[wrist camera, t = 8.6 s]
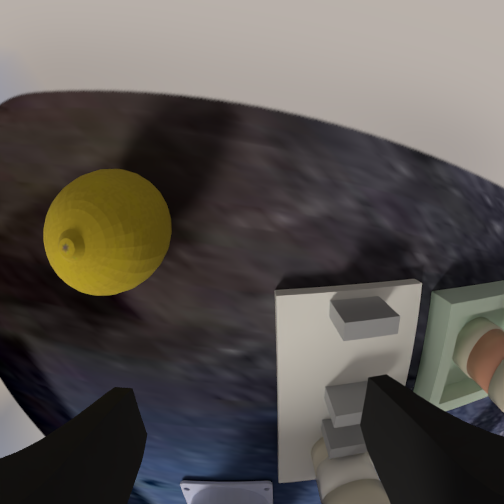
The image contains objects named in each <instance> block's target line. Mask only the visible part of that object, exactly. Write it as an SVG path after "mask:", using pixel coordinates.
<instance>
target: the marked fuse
mask: <svg viewBox="0 0 504 504" xmlns="http://www.w3.org/2000/svg"><path fill="white" fill-rule="evenodd" d="M452 360H453V362H454V363H455V364H456V365H457V366H458V367H459V368H460V369H461V370H462V371H463V372H464V373H465V374H466V375H467V376H468V377H469V378H471V379H473V380H474V381H475V382H476V383H477V384H478V385H479V386H480V387H481V388H482V389H483V390H484V391H485V392H486V393H487V394H488V396H489V398H490V399H491V400H492V401H493V402H494V403H495V404H496V405H497V406H498V407H499V408H500V409H501V411H502V412H503V413H504V330H503V329H502V328H500V327H499V326H497V325H496V324H494V323H493V322H491V321H490V320H488V319H487V318H485V317H477V318H474V319H472V320H471V321H469V322H468V323H467V324H466V325H465V326H464V327H463V328H462V329H461V331H460V332H459V333H458V335H457V339H456V343H455V348H454V352H453V356H452Z"/></svg>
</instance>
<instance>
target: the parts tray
mask: <svg viewBox="0 0 504 504" xmlns="http://www.w3.org/2000/svg"><path fill="white" fill-rule="evenodd" d="M477 317H485V318H487V319H488V320H490V321H491V322H493V323H494V324H496V325H497V326H499V327H500V328H502V329H503V330H504V280H502V281H496V282H490V283H484V284H478V285H471V286H465V287H458V288H451V289H444V290H436V291H432V293H431V301H430V308H429V315H428V321H427V328H426V334H425V339H424V345H423V350H422V355H421V360H420V364H419V369H418V373H417V378H416V382H415V386H414V390H413V392H415V393H416V394H418V395H419V396H421V397H422V398H424V399H425V400H427V401H429V402H430V403H432V404H433V405H435V406H437V407H438V408H440V409H442V410H444V411H448V410H451V409H454V408H457V407H460V406H463V405H465V404H468V403H471V402H474V401H476V400H479V399H481V398H484V397H486V396H488V394H487V393H486V392H485V391H484V390H483V389H482V388H481V387H480V386H479V385H478V384H477V383H476V382H475V381H474V380H473V379H471V378H469V377H468V376H467V375H466V374H465V373H464V372H463V371H462V370H461V369H460V368H459V367H458V366H457V365H456V364H455V363H454V362H453V360H452V356H453V352H454V348H455V343H456V339H457V335H458V333H459V332H460V331H461V329H462V328H463V327H464V326H465V325H466V324H467V323H468V322H469V321H471V320H472V319H474V318H477Z"/></svg>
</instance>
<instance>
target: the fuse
mask: <svg viewBox="0 0 504 504" xmlns="http://www.w3.org/2000/svg"><path fill="white" fill-rule="evenodd" d="M311 457H312V462H313V466H314V471H315V475H316V477H317V478H318V482H319V487H320V491H321V496H322V504H391V503H390V501H389V498H388V496H387V494H386V492H385V489H384V487H383V485H382V483H381V481H380V480H379V477H378V475H377V472H376V470H375V467H374V465H373V463H372V460H371V458H370V456H369V453H368V452H364V453H359V454H354V455H349V456H343V457H338V458H331V459H329V456H328V452H327V449H326V445H325V441H324V438H323V437H322V438H320V439H319V440H318V441H317V442H316V443H315V444H314V445H313V447H312V449H311Z"/></svg>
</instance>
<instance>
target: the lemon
mask: <svg viewBox="0 0 504 504" xmlns="http://www.w3.org/2000/svg"><path fill="white" fill-rule="evenodd" d="M170 238H171V217H170V214H169V210H168V206H167V204H166V202H165V200H164V198H163V197H162V195H161V193H160V192H159V191H158V190H157V189H156V187H155V186H154V185H153V184H152V183H151V182H149V181H148V180H146V179H145V178H143V177H141V176H140V175H138V174H136V173H133V172H129V171H126V170H122V169H101V170H97V171H94V172H91V173H88V174H85V175H82V176H80V177H79V178H77V179H75V180H74V181H73V182H71V183H70V184H68V185H67V186H66V187H64V188H63V189H62V191H61V192H60V193H59V194H58V195H57V197H56V198H55V199H54V201H53V202H52V204H51V206H50V209H49V211H48V213H47V216H46V220H45V225H44V245H45V250H46V254H47V257H48V259H49V262H50V264H51V266H52V268H53V269H54V270H55V272H56V273H57V275H58V276H59V277H60V278H61V279H62V280H63V281H64V282H65V283H66V284H68V285H69V286H71V287H73V288H75V289H76V290H78V291H80V292H83V293H87V294H91V295H114V294H117V293H121V292H124V291H127V290H130V289H132V288H134V287H136V286H137V285H139V284H140V283H142V282H143V281H145V280H146V279H147V278H149V277H150V276H151V275H152V273H153V272H154V271H155V270H156V269H157V268H158V266H159V265H160V264H161V262H162V260H163V258H164V256H165V254H166V252H167V250H168V247H169V243H170Z"/></svg>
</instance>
